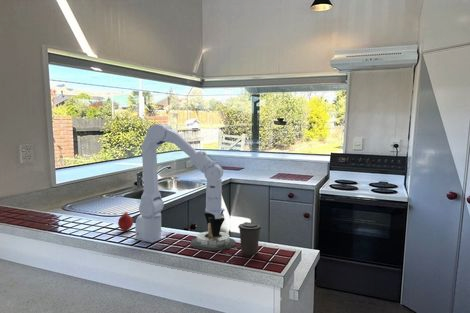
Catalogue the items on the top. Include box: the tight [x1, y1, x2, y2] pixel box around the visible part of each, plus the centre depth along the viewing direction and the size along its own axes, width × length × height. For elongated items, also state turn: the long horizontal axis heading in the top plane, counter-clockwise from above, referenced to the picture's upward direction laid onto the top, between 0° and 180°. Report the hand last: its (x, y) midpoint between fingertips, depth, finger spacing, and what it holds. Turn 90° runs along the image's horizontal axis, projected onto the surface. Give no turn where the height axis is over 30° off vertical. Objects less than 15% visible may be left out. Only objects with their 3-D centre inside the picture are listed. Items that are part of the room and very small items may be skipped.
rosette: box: [190, 231, 237, 252], centre depth 124 cm, size 17×17×3 cm
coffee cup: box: [237, 221, 262, 256], centre depth 115 cm, size 8×8×10 cm
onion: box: [117, 211, 134, 232], centre depth 138 cm, size 6×6×8 cm
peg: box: [207, 223, 219, 238], centre depth 124 cm, size 4×4×7 cm
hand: (213, 233), depth 124 cm, fingers open, 7 cm apart
